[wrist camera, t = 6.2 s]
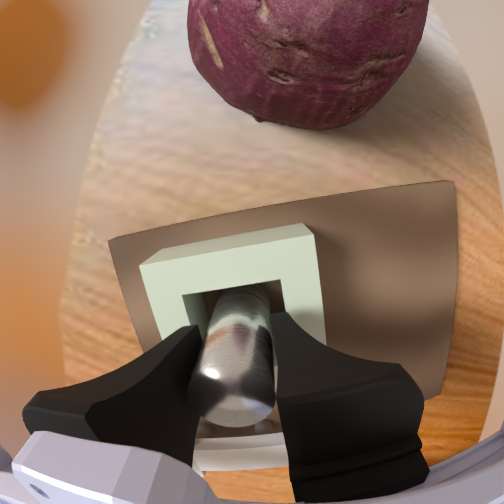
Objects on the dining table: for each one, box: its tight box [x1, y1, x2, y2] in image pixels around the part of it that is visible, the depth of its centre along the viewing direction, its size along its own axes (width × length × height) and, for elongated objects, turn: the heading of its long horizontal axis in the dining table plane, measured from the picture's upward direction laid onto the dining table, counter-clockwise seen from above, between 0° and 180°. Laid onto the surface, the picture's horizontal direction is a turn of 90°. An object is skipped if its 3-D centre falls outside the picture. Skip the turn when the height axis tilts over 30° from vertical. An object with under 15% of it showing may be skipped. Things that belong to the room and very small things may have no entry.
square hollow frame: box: [139, 223, 327, 391], centre depth 13 cm, size 7×7×3 cm
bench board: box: [108, 180, 458, 477], centre depth 14 cm, size 16×19×4 cm
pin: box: [187, 283, 276, 427], centre depth 11 cm, size 3×3×7 cm
